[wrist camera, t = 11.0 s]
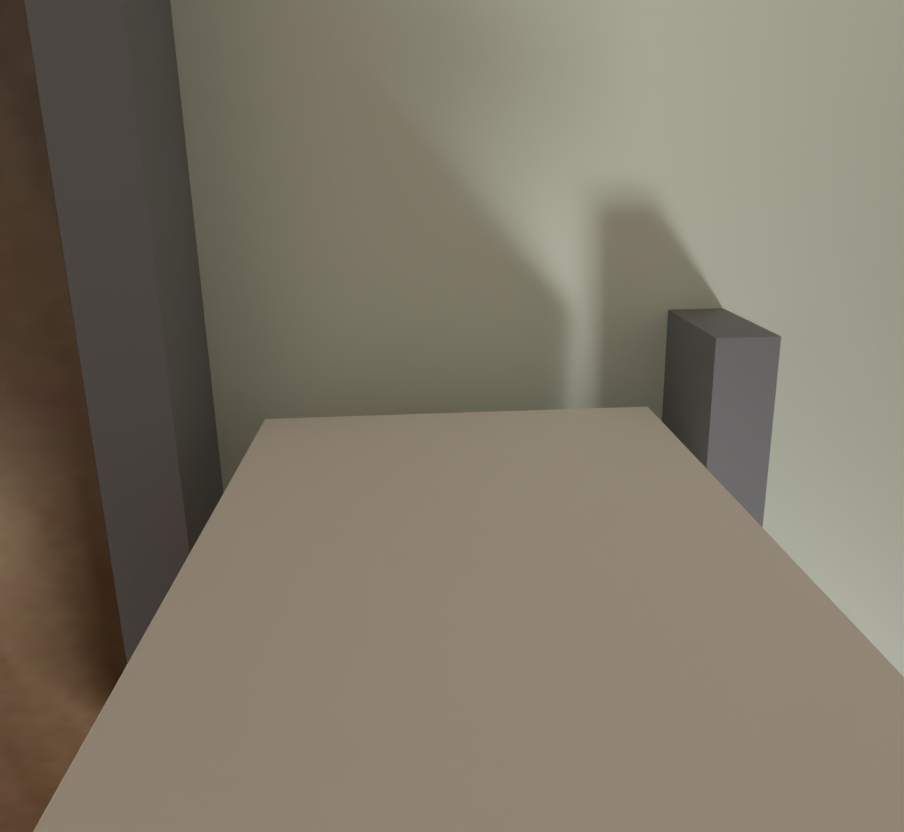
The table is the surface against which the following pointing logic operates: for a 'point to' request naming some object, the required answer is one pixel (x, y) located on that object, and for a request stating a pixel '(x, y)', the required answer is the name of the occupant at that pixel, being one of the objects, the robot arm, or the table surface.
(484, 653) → the carton
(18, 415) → the table surface
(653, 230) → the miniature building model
